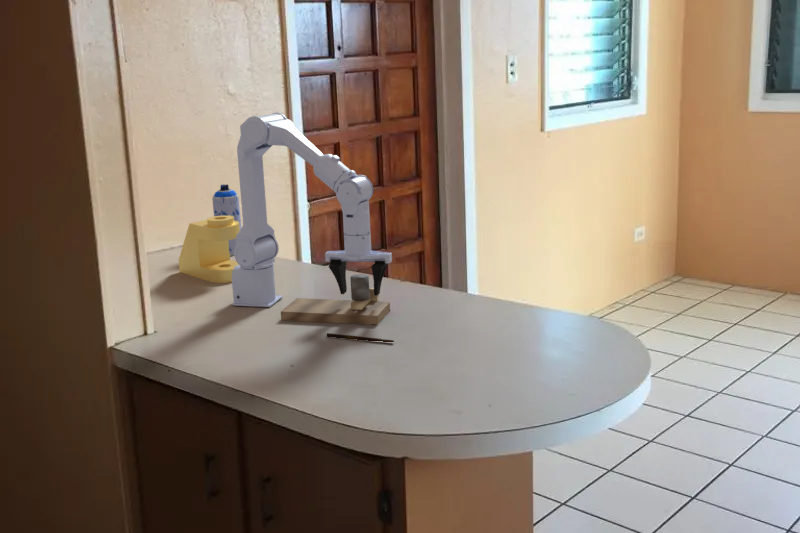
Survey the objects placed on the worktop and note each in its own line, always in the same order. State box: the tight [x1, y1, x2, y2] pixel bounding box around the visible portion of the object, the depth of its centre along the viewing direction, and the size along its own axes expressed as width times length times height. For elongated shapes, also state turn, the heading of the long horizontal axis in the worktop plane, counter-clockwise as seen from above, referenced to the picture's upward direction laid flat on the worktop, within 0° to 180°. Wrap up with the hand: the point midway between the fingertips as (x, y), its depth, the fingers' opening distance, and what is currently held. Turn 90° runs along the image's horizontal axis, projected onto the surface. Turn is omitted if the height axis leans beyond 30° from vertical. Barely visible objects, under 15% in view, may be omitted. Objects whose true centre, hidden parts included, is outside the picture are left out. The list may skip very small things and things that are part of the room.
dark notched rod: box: [326, 332, 395, 343], centre depth 172 cm, size 15×1×1 cm, turn 67°
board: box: [280, 297, 391, 325], centre depth 188 cm, size 22×10×2 cm, turn 76°
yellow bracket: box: [178, 215, 240, 284], centre depth 224 cm, size 20×9×16 cm, turn 44°
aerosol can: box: [212, 184, 242, 257], centre depth 247 cm, size 8×8×20 cm
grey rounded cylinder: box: [349, 273, 380, 310], centre depth 188 cm, size 5×9×8 cm, turn 165°
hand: (360, 293), depth 187 cm, fingers open, 7 cm apart
